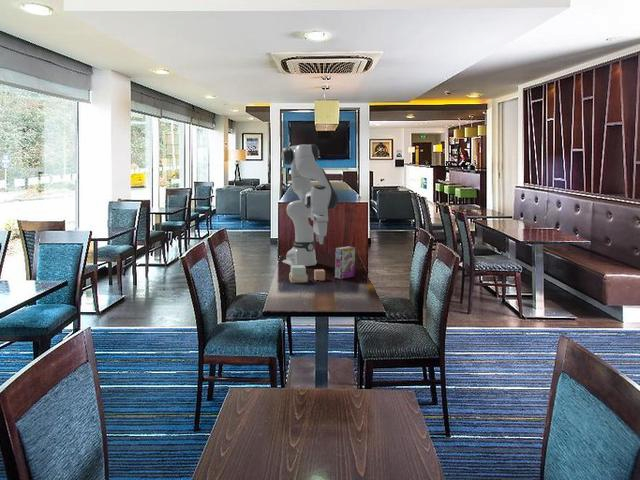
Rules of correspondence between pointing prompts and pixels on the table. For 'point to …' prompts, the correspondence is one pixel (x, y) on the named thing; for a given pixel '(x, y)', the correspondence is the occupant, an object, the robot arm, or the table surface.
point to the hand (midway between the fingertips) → (319, 242)
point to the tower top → (298, 270)
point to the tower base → (298, 278)
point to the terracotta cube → (319, 274)
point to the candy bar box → (344, 262)
